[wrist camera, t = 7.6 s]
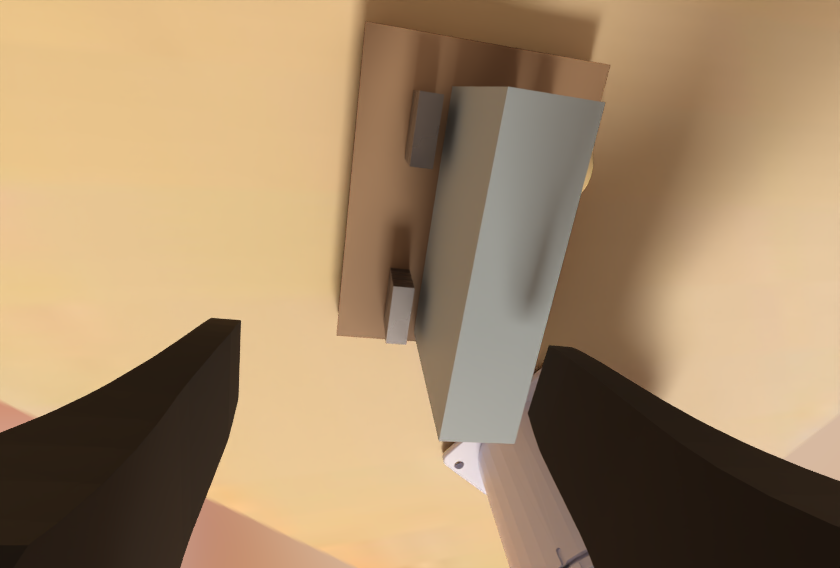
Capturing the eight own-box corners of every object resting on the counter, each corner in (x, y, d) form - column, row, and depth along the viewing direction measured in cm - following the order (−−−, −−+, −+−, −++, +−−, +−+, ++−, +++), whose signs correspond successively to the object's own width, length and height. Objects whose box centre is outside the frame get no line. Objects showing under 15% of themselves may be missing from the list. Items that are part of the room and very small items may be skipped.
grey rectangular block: (536, 99, 18) (636, 107, 11) (484, 337, 22) (538, 445, 15) (452, 86, 17) (508, 86, 11) (414, 332, 21) (438, 441, 15)
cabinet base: (592, 66, 19) (610, 65, 18) (525, 334, 23) (535, 349, 22) (365, 26, 18) (365, 21, 16) (337, 320, 22) (336, 335, 21)
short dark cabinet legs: (549, 111, 18) (571, 114, 16) (499, 329, 21) (513, 351, 20) (413, 90, 17) (420, 90, 15) (383, 320, 21) (386, 343, 19)
